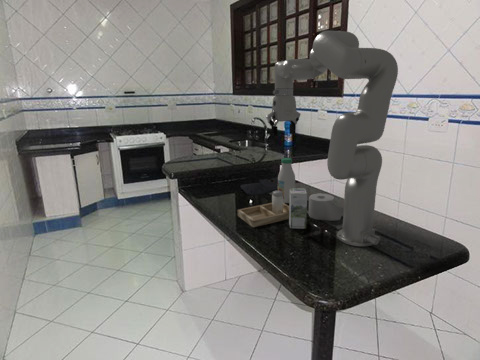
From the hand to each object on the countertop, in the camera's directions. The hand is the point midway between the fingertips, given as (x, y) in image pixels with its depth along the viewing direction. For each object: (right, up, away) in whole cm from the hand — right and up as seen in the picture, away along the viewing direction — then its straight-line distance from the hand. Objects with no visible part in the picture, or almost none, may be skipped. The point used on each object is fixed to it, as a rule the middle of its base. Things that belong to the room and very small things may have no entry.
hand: (283, 134), depth 139 cm
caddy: (-8, -35, -10) cm, 37 cm away
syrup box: (+2, -37, -19) cm, 42 cm away
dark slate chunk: (-7, -25, +28) cm, 38 cm away
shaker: (-4, -33, -9) cm, 34 cm away
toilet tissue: (+14, -35, -12) cm, 39 cm away
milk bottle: (+2, -30, +7) cm, 31 cm away
